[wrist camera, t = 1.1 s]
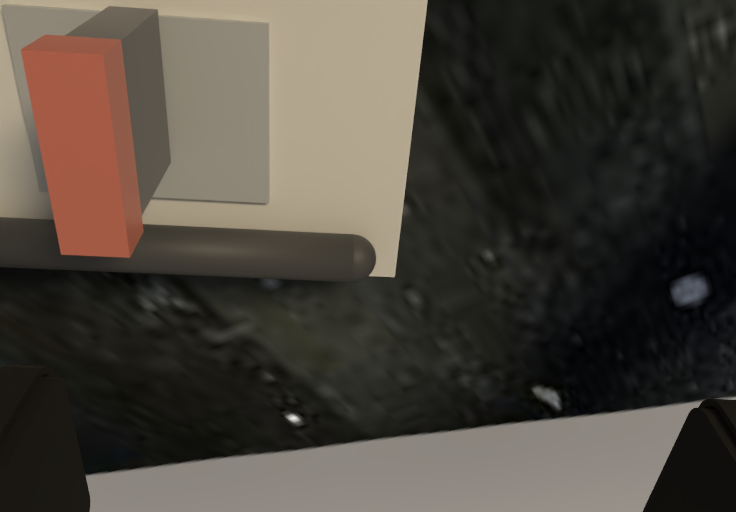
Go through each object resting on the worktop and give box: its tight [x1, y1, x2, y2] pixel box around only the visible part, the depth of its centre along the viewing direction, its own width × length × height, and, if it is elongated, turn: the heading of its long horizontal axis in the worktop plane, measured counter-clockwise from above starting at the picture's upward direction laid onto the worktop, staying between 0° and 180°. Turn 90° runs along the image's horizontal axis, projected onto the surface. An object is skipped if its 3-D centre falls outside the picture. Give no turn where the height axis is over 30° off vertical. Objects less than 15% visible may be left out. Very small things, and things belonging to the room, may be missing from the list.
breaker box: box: [0, 0, 428, 282], centre depth 25 cm, size 20×16×7 cm
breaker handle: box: [21, 6, 171, 258], centre depth 21 cm, size 2×6×7 cm, turn 176°
